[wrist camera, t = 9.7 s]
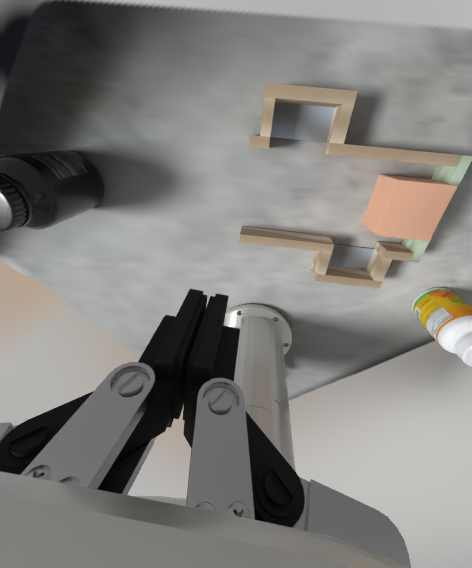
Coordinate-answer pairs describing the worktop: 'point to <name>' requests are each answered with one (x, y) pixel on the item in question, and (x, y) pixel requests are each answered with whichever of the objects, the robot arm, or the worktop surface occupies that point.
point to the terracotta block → (407, 207)
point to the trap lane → (332, 129)
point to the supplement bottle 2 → (446, 320)
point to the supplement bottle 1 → (46, 188)
